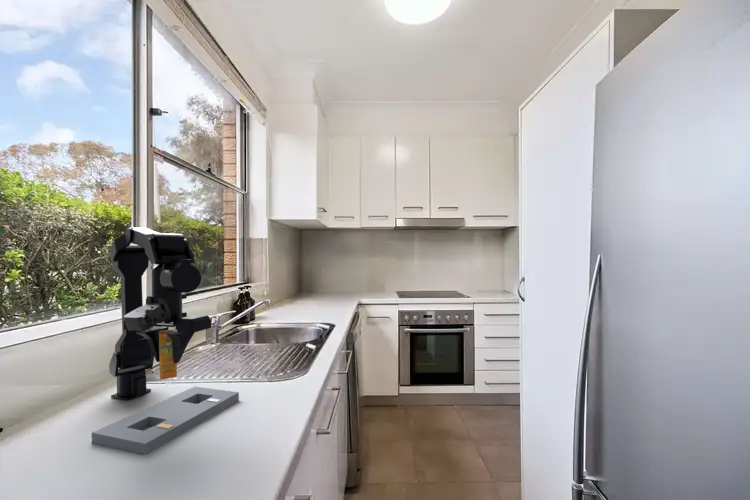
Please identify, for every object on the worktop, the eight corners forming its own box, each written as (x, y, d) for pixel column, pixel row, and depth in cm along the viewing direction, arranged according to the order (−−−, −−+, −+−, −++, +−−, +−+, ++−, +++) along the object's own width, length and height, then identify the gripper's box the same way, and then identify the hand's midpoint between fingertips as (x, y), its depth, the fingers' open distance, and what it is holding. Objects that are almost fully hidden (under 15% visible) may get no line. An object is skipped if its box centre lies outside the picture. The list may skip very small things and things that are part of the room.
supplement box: (159, 380, 74) (158, 333, 74) (159, 376, 77) (158, 330, 77) (177, 377, 76) (176, 330, 76) (177, 373, 79) (175, 328, 79)
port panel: (91, 443, 68) (91, 431, 68) (194, 394, 92) (194, 385, 92) (145, 454, 64) (145, 442, 64) (238, 400, 88) (238, 391, 88)
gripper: (97, 293, 72) (97, 370, 71) (169, 295, 66) (170, 378, 66) (147, 288, 82) (147, 355, 82) (212, 289, 77) (213, 361, 77)
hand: (167, 362), depth 76 cm, fingers closed on supplement box, 4 cm apart
